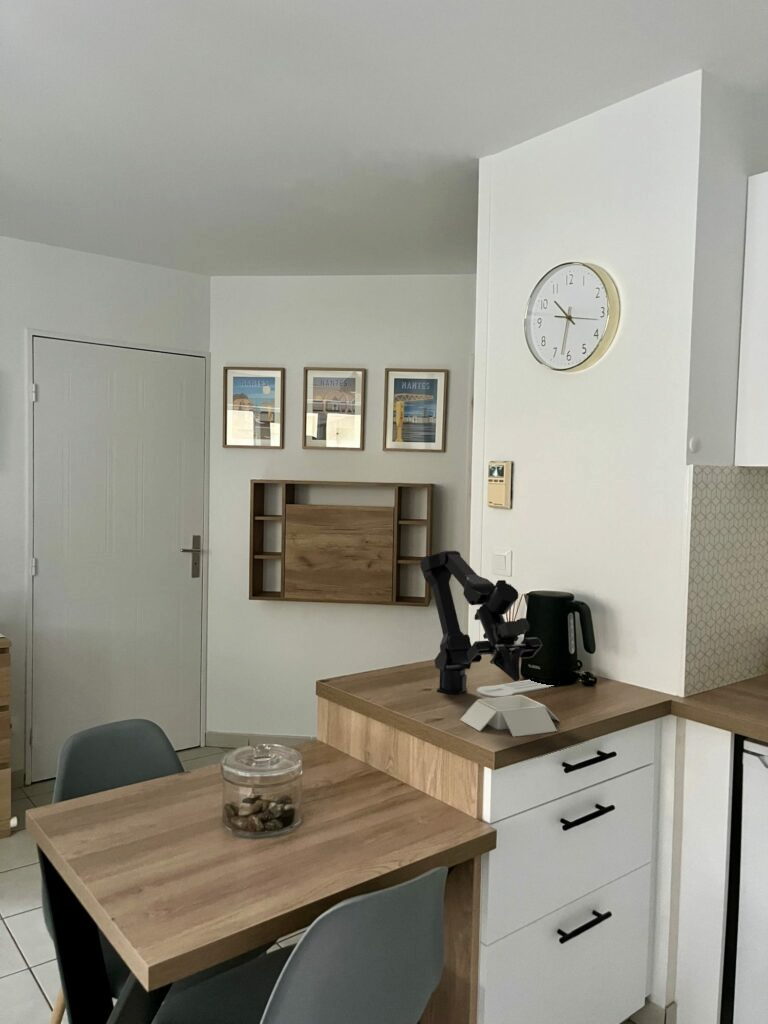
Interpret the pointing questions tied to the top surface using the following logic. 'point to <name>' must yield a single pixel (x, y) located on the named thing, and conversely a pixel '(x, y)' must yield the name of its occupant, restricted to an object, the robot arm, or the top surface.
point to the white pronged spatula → (511, 688)
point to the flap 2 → (551, 714)
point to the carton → (507, 708)
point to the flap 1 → (478, 716)
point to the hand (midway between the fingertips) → (517, 680)
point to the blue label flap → (529, 721)
